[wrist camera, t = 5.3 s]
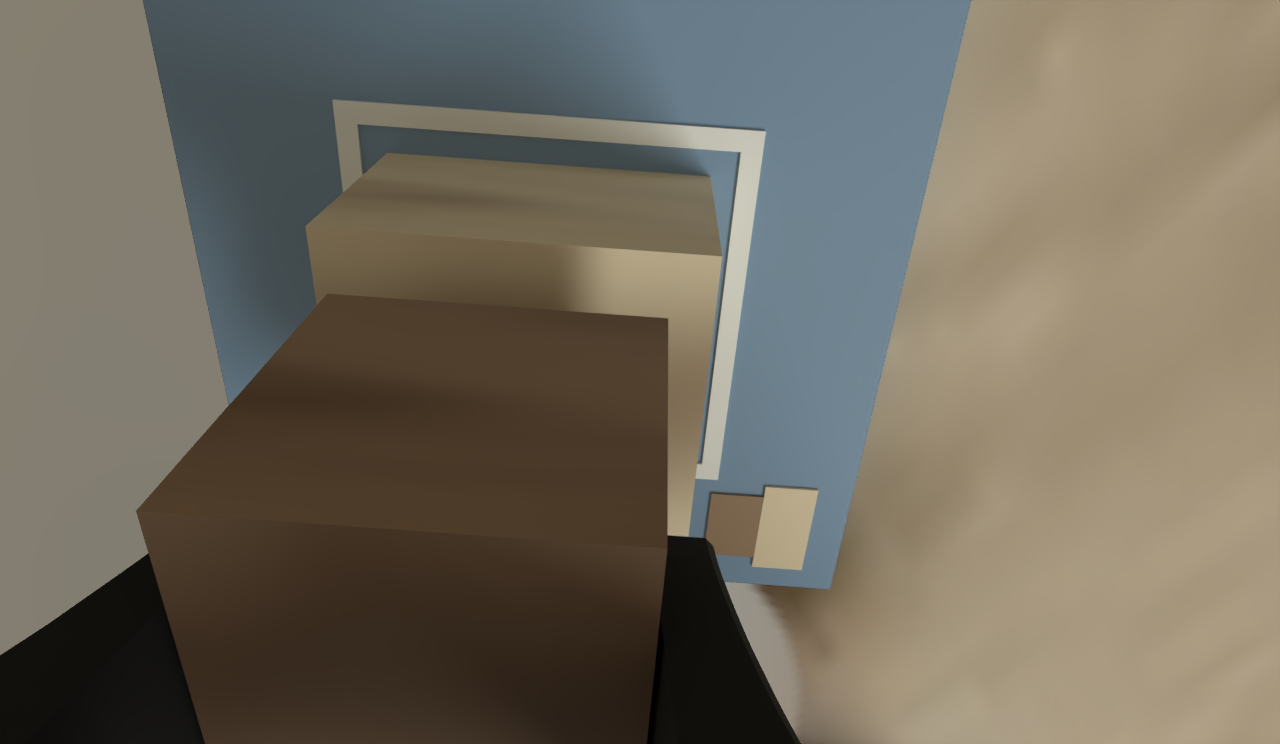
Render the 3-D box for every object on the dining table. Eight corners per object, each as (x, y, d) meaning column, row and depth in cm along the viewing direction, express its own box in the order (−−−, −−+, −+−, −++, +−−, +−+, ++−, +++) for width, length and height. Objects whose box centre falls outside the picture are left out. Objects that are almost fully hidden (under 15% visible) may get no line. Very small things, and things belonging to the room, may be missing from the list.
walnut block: (645, 573, 13) (634, 857, 9) (361, 554, 13) (229, 830, 9) (668, 318, 11) (667, 548, 7) (327, 293, 11) (135, 511, 7)
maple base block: (681, 442, 18) (684, 569, 15) (411, 423, 18) (350, 545, 15) (710, 175, 15) (722, 256, 12) (387, 152, 15) (305, 226, 12)
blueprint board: (825, 571, 21) (830, 590, 20) (269, 532, 21) (258, 550, 20) (971, -51, 14) (984, -49, 13) (139, -112, 14) (116, -113, 13)
